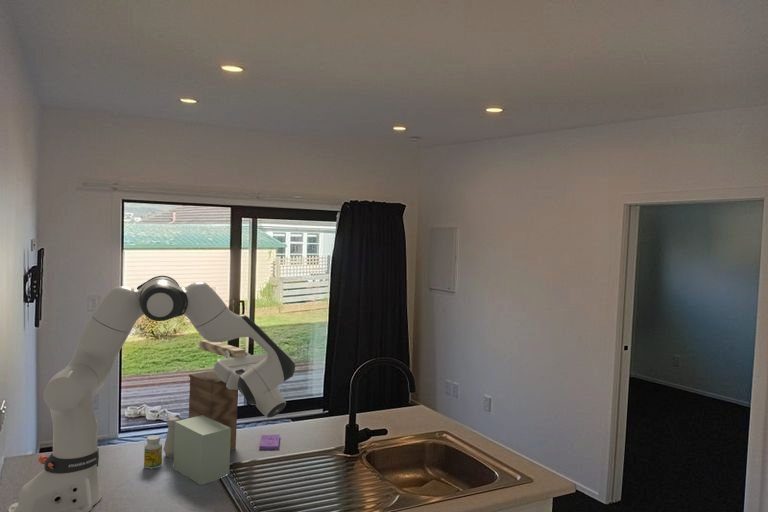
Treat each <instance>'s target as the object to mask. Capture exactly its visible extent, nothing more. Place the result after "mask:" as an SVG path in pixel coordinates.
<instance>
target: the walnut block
mask: <svg viewBox="0 0 768 512" xmlns="http://www.w3.org/2000/svg"><path fill="white" fill-rule="evenodd" d="M188 377H189V395H188V396H189V398H188V399H189V400H188V404H189V405H188V418H193V417H197V416H201V415H203V416H205V417H208V418H210V419H212V420H214V421H216V422H219V423H221V424H223V425H225V426H228V427H230V428H231V440H230V451H232V450H235V449H236V448H237V428H238V427H237V425H238V424H237V422H238V401H239V400H238V399H239V397H238V396H239V395H238V394H239V390H232V389H228V388H227V387H226V384H227V383H225V382H223V381H222V380H221V379H220V378H219V377H218V376H217V374H216V373H215V371H214V369H213V370H208V371H202V372H201V371H200V372H195V373H189V374H188Z"/></svg>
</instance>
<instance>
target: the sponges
mask: <svg viewBox="0 0 768 512" xmlns="http://www.w3.org/2000/svg"><path fill="white" fill-rule="evenodd" d="M280 438H281V435H280V433H278V434H261V436H260V442H259V446H258V450H259V451H260V450H262V451H265V450H266V451H267V450H270V451H271V449H276V450H279V448H280V447H279V445H280Z"/></svg>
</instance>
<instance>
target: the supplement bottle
mask: <svg viewBox="0 0 768 512" xmlns="http://www.w3.org/2000/svg"><path fill="white" fill-rule="evenodd" d="M160 441H161V436H159V435H154V434H153V435H149V436H148V437H147V438H146V443H145V445H144V448H143V449H144V451H143V452H144V454H143V455H144V456H143V462H144V463H143V467H144V468H145V469H147V468H155V469H158V468H160V467H161V466H162V459H163V458H162V457H163V443H161V442H160ZM159 466H160V467H159ZM157 467H158V468H157Z"/></svg>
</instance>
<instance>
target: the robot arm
mask: <svg viewBox="0 0 768 512" xmlns="http://www.w3.org/2000/svg"><path fill="white" fill-rule="evenodd" d="M143 315H144V316H146V317H147V318H148V319H149V320H152V321H155V322H164V321H168V320H171V319H174V318H177V317H181V316H183V315H184V316H185V317H186V318H187V319H188V320H189V322H190V323H191V324H192V325H193V328H195V330H196V331H197V333H198V334H199V335H200V336H201V337H202V338H203V340H207V341H210V342H220V343H225V342H229V341H232V340H235V339H239V338H249V339H252V340H253V341H254V342H255V343H256V344H257V345H258V346H259V347H261V349H262V350H263V351H264V352H265V353H257V354H251V353H249V352H248V351H245V356H242V357H235V358H232V357H230V355H231V352H230V351H225V353H224V355H225V356H224V358H221V359H217V360H216V362H215V364H214V365H213V370H214V371H215V373H216V374H217V376H218V377H219V378H220V379H221V380H222V381H223V382H225V383H227V384H226V387H227V388H228V389H232V390H238V392H240V393H241V395H242V396H244V399H245V400H246V402H247V403H248V404H250V405H254V406H255V407H256V408H257V409H258V410H259V412H260V413H262V415H264V417H266V418H268V419H269V418H272V417H275V416H277V415H278V414H279V413H280V412H282V411H283V410H284V409H285V407H286V404H287V402H286V400H285V397H284V396H283V394H282V392H281V391H280V389H279V388H278V386H280V385H281V384H282V383H284V382H286V381H288V380H289V379H291V378H292V377H293V376H294V374H295V371H296V364H295V361H294V358H292V356H291V355H290V354H288V353H287V352H286V351H285V350H284V349H282V348H280V347H279V346H278V345H277V343H276V342H274V340H273V339H272V338H271V337H270V336H269V335H268V334H267V333H266V332H265V331H264V330H263V329H262V328H261V327H260V326H259V325H257V324H256V322H254V321H253V319H251V318H250V317H248V316H247V315H245V314H238V313H235V312H233V311H232V310H231V309H229V308H228V306H227V305H226V303H225V302H224V301H223V299H222V298H221V297H220V296H219V294H218V293H217V292H216V291H215V290H214V289H213V288H212V287H211V286H210V285H209V284H208V283H206V282H204V281H196V282H193V283H191V284H189V285H188V286H185V287H184V286H183V287H182V286H180V284H179V283H178V282H177V280H175V279H174V278H173V277H171V276H169V275H157V276H153V277H152V278H150V279H148V280H146V281H145V282H143V283H142V284H140V285H138V286H137V287H136V289H135V288H133V287H130V286H126V285H118V286H115V287H113V288H112V289H111V290H109V292H108V293H107V294H106V295H105V296H104V297H103V298H102V300H101V302H100V303H99V304H98V306H97V308H95V310H94V312H93V313H92V315H91V317H90V319H89V321H88V322H87V324H86V325H85V327H84V330H83V331H82V333H81V334H80V336H79V338H78V341H77V346H76V348H75V351H74V354H73V356H72V358H71V359H70V361H69V363H68V364H67V366H66V367H64V368H63V369H61V370H60V371H58V372H57V373H56V374H54V375H53V376H52V377H51V378H50V379H49V381H48V382H47V384H46V386H45V388H44V389H43V400H44V403H45V404H46V406H47V407H48V408H49V412H50V416H51V423H52V453H50V455H49V456H47V455H45V454H42V455H40V456H39V457H38V459H37V460H38V462H39V463H40V464H41V465H43V466H44V467H43V470H41V471H40V472H38V474H36V475H35V476H34V477H33V478H32V479H30V480H29V481H28V482H27V483H25V484H24V485H23V486H22V487H21V489H20V492H19V497H18V501H17V502H15V503H12V504H10V506H9V507H8V510H7V512H90V511H91V510H92V509H93V506H94V505H95V504H97V503H98V502H99V501H100V500H101V499H102V496H103V494H102V490H101V487H100V483H99V475H98V467H99V463H100V462H99V461H100V452H99V447H98V432H99V431H98V429H99V428H98V427H99V421H98V419H97V418H96V416H95V415H96V414H95V410H94V403H93V402H94V398H95V395H96V394H97V393H99V392H100V390H101V389H103V386H104V385H105V382H106V380H107V379H108V376H109V375H110V373H111V370H112V368H113V367H114V363H115V360H116V359H117V356H118V355H119V353H120V351H121V350H122V347H123V346H124V344H125V342H126V340H127V339H128V337H129V335H130V333H131V331H132V330H133V328H134V327H135V324H136V323H137V321H138V320H139V319H140V318H141V317H142V316H143Z"/></svg>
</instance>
